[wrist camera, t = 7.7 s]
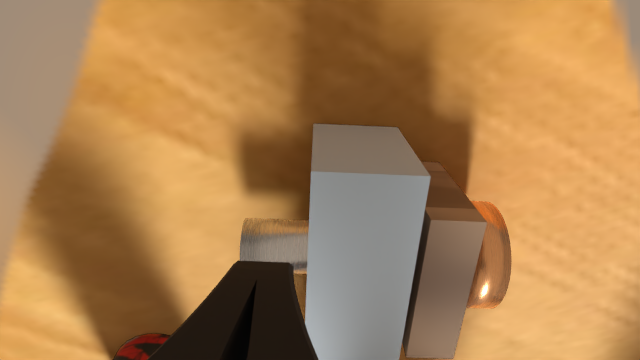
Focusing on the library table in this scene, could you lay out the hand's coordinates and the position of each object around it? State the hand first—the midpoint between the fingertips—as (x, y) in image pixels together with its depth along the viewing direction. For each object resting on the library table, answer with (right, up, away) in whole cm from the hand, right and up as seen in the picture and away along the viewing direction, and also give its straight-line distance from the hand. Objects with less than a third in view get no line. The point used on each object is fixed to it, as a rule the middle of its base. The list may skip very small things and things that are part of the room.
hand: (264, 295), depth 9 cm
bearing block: (+3, +1, +11) cm, 11 cm away
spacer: (+6, +1, +11) cm, 13 cm away
